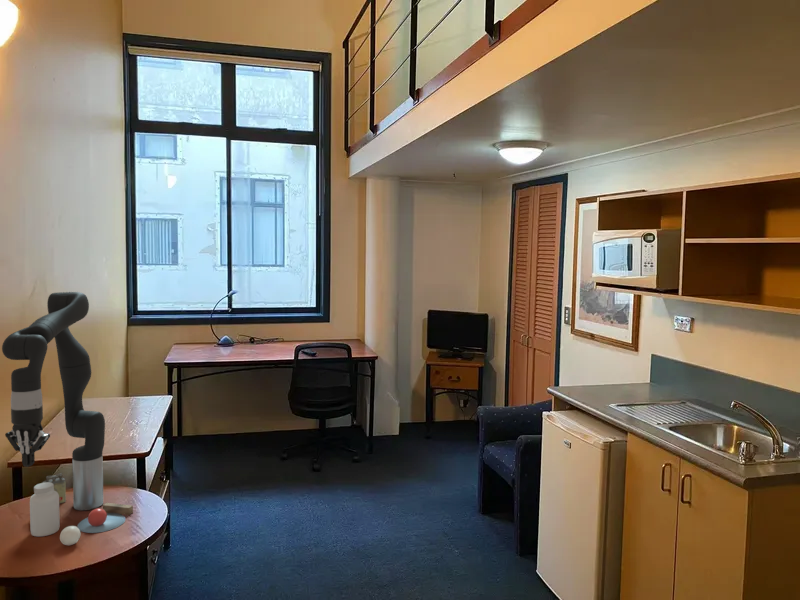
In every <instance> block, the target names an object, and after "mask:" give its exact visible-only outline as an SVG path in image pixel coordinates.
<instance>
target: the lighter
mask: <svg viewBox="0 0 800 600" xmlns="http://www.w3.org/2000/svg"><path fill="white" fill-rule="evenodd" d="M45 478H46V480H44V481H42V483H45V482H51V483H53V484H54V491H56V492H57V493H58V494H59V504H63V503H65V502H66V501H67V499H66V498H67V496H66V478H64V477H63V473H62V472H61V473H58V474H55V475H53V474H52V475H47V476H45Z"/></svg>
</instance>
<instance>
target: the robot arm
mask: <svg viewBox="0 0 800 600" xmlns="http://www.w3.org/2000/svg"><path fill="white" fill-rule="evenodd" d="M46 304H47V312H48V313H47V314H45V315H43V316H40V317H39V318H37V319H36V320H35V321H33V322H31V324H30V325H29V326H27V327H24V328H22V329H18V330H17V331H15V332H12V333H10V334H9V335H7V337H5V339H4V340H3V343H2V345H1V351H2V355H4V357H5V358H7V359H8V360H13V361H28V362H29V363H28V365H27V366H24V367H19V368H15V369H14V370H13V371H11V374H10V383H11V385H10V387H11V389H10V390H11V394H10V416H11V418H10V419H11V421H10V422H11V424H12V425H13V426H12V429H11V430H10V431H8V432H5V435H4V436H5V438H6V439H7V440H8V442H9V443H10V444H11V446H12V448H13V449H14V450H15V452H19V453H20V454H21V463H22V466H23V467H28V468H29V467H31V466H34V464H35V462H36V461H35V453H36V452H37V451H40V450H42V448H43V447H44V446H45V445H46V444H47V442H48V441H49V439H50V438H51V434H50V433H46V432H44V431H43V429H44V428H43V426H42V421H43V418H44V417H43V416H44V413H43V411H44V410H43V393H42V392H43V391H42V376H41V375H42V370H43V365H44V362H45V358H46V355H47V351H48V344H49V343H50V342H51V341H53V340H54V341H55V345H56V346H55V347H56V354H57V359H58V360H57V361H58V367H59V375H60V379H61V385H62V392H63V393H62V394H63V401H64V421H65V422H64V424H65V429H66V432H67V434H68V435H69V436H70V437H72V438H79V439H84V445H81V446H78V447H76V448H74V449H73V450H72V453H71V454H72V455H71V457H72V495H73V496H72V497H73V498H72V499H73V501H72V502H73V503H72V504H73V509H74V510H77V511H89V510H90V511H91V510H94V509H97V508H100V506H103V505H104V469H103V467H104V465H103V464H104V462H103V451H104V446H105V434H106V420H105V416H104V415H103V413H102V412H100V411H95V410H84V405H83V395H84V392H85V390H86V388H87V386H88V384H89V382H90V380H91V378H92V365H91V359H90V356H89V353H88V352H87V350H86V349H85V347H84V346H83V345H82V344H81V343H80V342H79V341H78V340H77V339H76V338H75V337H74V336H73V334H72V333H71V332H72V331H70V328H69V327H71V326H72V325H74V324H75V323H77V322H79V321H81V320H83V319H84V318H86V316H87V315H88V313H89V308H90V304H89V299H88V296H87V295H86V294H85V293H83V292H80V291H69V292H68V291H66V292H64V291H63V292H53V293H50V294H49V296H48V297H47V303H46Z"/></svg>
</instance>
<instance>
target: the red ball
mask: <svg viewBox="0 0 800 600" xmlns="http://www.w3.org/2000/svg"><path fill="white" fill-rule="evenodd" d="M87 518H88V522H89V524H90V525H92V526H100V525H102V524H103V523H104V522H105V521H106V519H107V513H106V511H105V510H103V508H102V507H101V508H100V507H97V508H94V509H91V510H90V512H89V514H88V516H87Z"/></svg>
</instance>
